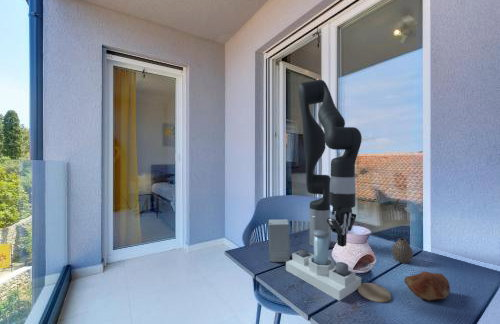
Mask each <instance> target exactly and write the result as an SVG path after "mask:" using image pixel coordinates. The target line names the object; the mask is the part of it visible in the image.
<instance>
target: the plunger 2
mask: <svg viewBox="0 0 500 324" xmlns="http://www.w3.org/2000/svg"><path fill="white" fill-rule="evenodd" d="M335 266H336V273H337V274H339V275H341V276H343V277H346V276H347V275H348V270H349V265H348V263H346V262H343V261H342V262H341V261H338V262H336V263H335Z"/></svg>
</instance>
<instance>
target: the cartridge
mask: <svg viewBox="0 0 500 324" xmlns="http://www.w3.org/2000/svg"><path fill="white" fill-rule="evenodd" d="M313 235H314V246H313V255H314V263H315V264H317V265H326V266H327V265H328V258H329V247H328V239H329V232H328V231H325V230H314V231H313Z"/></svg>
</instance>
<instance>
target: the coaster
mask: <svg viewBox="0 0 500 324" xmlns="http://www.w3.org/2000/svg"><path fill="white" fill-rule="evenodd" d="M357 291H358V293H359V295H360V296H362V297H363V298H365V299H367V300H369V301H372V302H375V303H388V302H389V301H391V300H392V294H391V292H390V291H389V290H388V289H387V288H385V287H383V286H381V285H380V284H379V285H378V284H376V283H371V282H364V283H363V282H361V286H359V287H358V289H357Z"/></svg>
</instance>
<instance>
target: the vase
mask: <svg viewBox="0 0 500 324" xmlns="http://www.w3.org/2000/svg"><path fill="white" fill-rule="evenodd" d="M413 253H414V252H413V249H412V247H411V245H410V244H409V243H408V241H407V240H406V239H405V238H398V239H397V241H395V242H394V244H393V245H392V247H391V255H392V257H393V258H394V259H395V261H397V262H398V261H399V263H401V264H402V263H403V264H408V263H409V262H411V261H412V259H413V257H414V254H413Z"/></svg>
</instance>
